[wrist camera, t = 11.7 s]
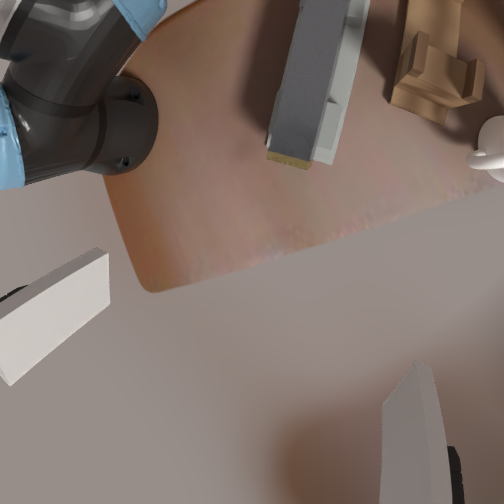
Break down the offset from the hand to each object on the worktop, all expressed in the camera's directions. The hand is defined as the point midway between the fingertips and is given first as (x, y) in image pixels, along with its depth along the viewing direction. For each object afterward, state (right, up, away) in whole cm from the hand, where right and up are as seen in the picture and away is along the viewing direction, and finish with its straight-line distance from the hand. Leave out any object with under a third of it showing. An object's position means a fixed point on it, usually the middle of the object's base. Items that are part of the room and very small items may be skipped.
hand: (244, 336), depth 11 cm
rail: (+7, +24, +14) cm, 29 cm away
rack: (+22, +30, +12) cm, 38 cm away
